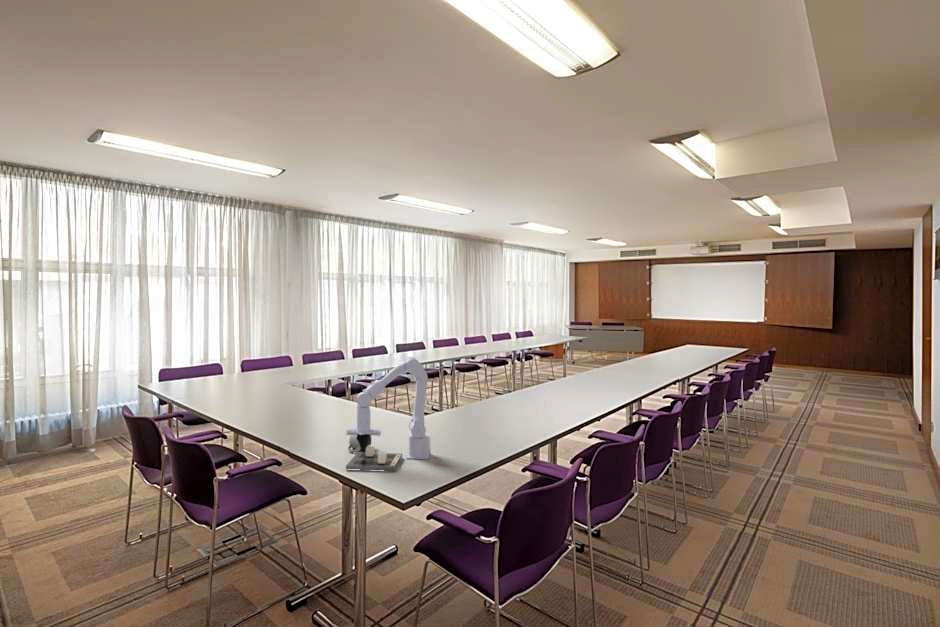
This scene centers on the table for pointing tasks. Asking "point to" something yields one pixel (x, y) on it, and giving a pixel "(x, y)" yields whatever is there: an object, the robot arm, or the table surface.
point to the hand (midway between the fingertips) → (363, 451)
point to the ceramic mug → (356, 443)
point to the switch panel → (374, 462)
